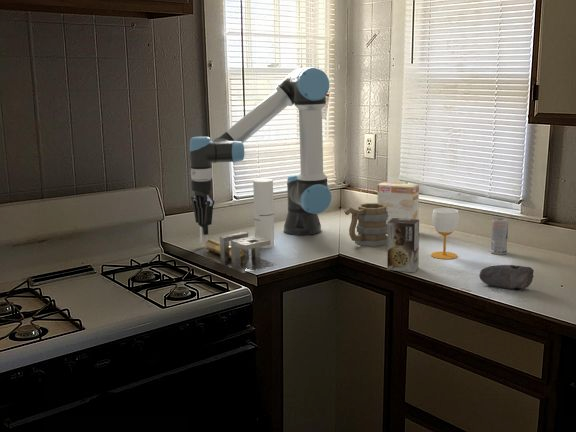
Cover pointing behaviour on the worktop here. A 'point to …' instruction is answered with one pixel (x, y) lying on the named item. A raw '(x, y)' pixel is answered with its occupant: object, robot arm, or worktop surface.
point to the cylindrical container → (264, 210)
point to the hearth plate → (244, 264)
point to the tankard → (369, 224)
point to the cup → (445, 228)
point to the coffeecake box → (399, 200)
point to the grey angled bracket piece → (225, 245)
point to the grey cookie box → (403, 245)
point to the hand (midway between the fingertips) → (204, 242)
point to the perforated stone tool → (507, 276)
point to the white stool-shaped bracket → (247, 243)
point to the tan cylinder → (215, 248)
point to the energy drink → (499, 236)
